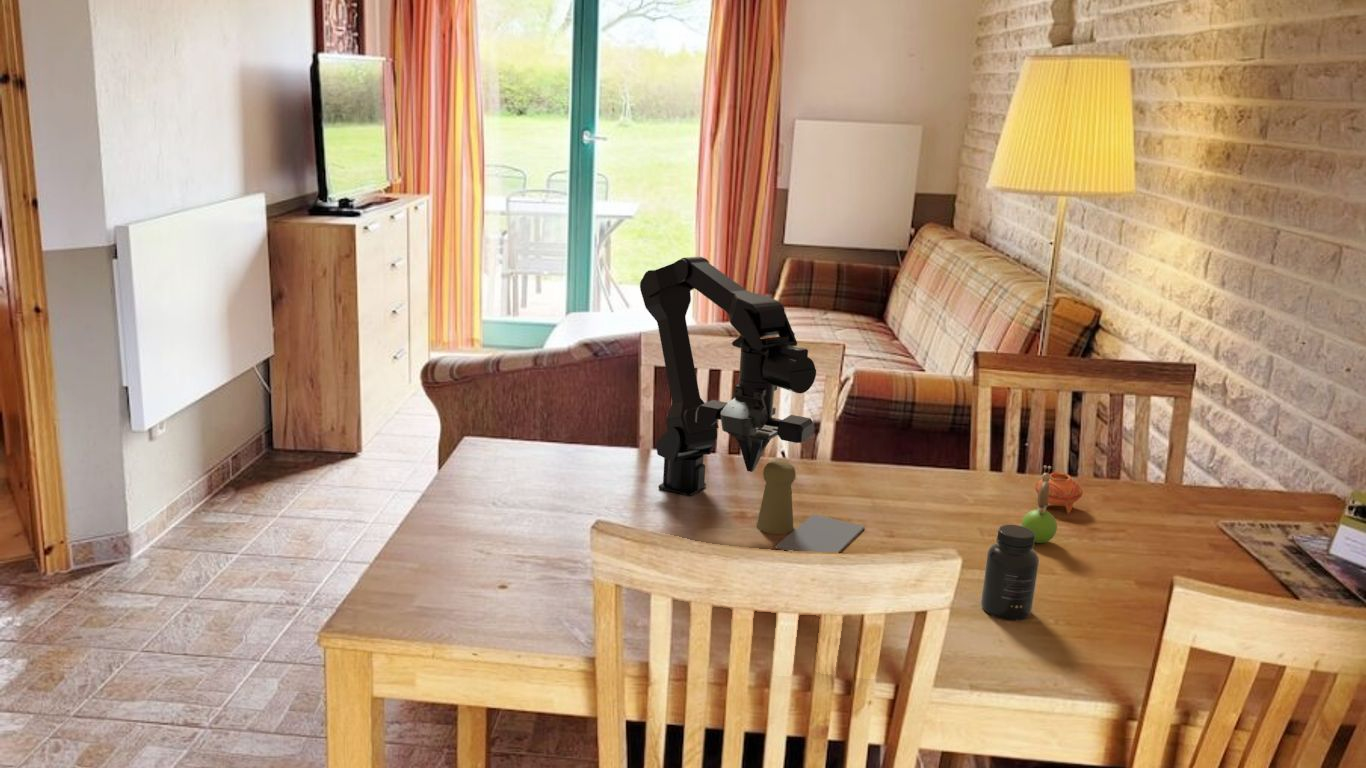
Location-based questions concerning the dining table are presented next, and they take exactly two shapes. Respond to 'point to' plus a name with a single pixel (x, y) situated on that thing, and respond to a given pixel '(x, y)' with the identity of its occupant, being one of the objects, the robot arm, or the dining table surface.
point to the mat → (820, 535)
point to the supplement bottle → (1010, 574)
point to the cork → (777, 499)
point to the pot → (1062, 490)
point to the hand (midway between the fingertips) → (750, 471)
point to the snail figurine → (1041, 514)
